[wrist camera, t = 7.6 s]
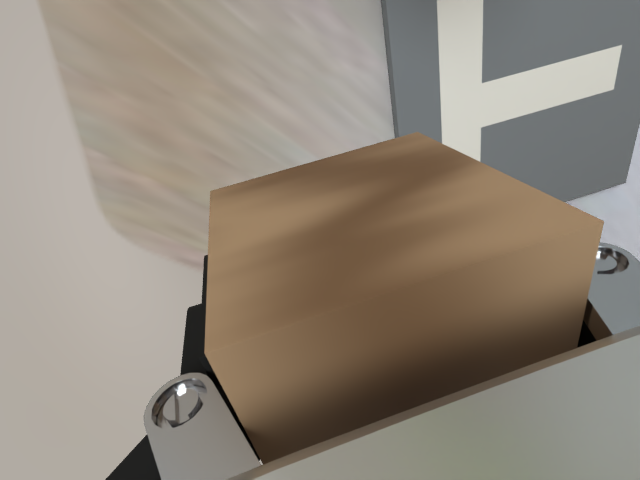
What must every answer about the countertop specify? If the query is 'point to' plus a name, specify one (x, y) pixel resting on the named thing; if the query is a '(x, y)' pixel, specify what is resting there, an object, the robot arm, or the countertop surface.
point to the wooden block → (384, 287)
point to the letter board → (521, 85)
